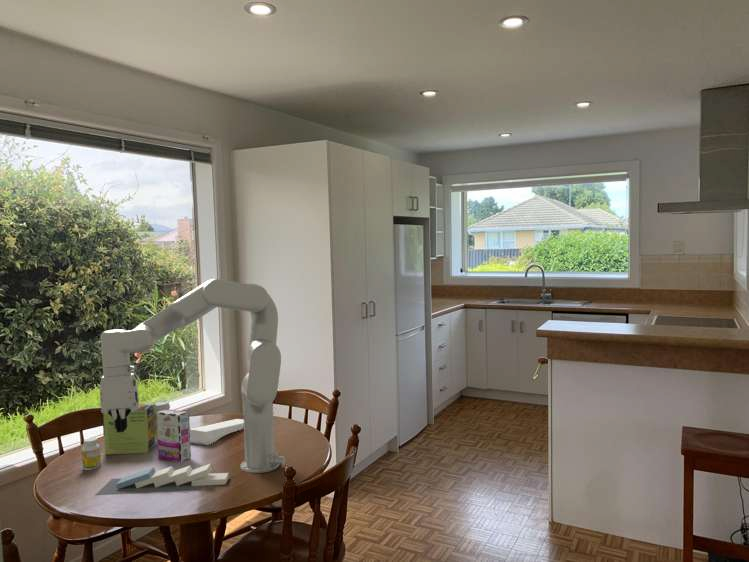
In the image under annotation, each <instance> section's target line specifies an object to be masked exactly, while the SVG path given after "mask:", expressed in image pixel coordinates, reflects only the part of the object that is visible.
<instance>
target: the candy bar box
mask: <svg viewBox="0 0 749 562" xmlns="http://www.w3.org/2000/svg"><path fill="white" fill-rule="evenodd" d="M156 416H157V458H158V460H159V459H160V460H165V461H169V462H171V461H172V462H174V461H175V462H179V463H180V462H183V461H188V460H191V459H192V453H191V452H192V451H191V443H190V429H191V428H190V427H191V426H190V412H189V411H185V410H177V409H176V410H175V409H171V408H169V409H165V410H162V411H159V412H156Z"/></svg>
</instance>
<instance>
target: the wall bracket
mask: <svg viewBox="0 0 749 562" xmlns="http://www.w3.org/2000/svg"><path fill="white" fill-rule="evenodd" d="M242 428H244V418H234V419H230V420H225V421H221V422H216V423H212V424H207V425H203V426H198V427H193V428H190V444H196V445H204V446H210V445H211V443H212V444H214V443H215V442H217V441H218V440H220V439H221V438H222V437H225V436H226V435H229V434H231V433H234V432H238V430H239V431H242V430H243V429H242ZM241 429H242V430H241ZM213 442H214V443H213ZM209 444H210V445H209Z"/></svg>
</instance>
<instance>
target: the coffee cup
mask: <svg viewBox="0 0 749 562" xmlns="http://www.w3.org/2000/svg"><path fill="white" fill-rule="evenodd" d="M150 403H155V406H156V412H159V411H162V410H165V409H171V405H170V403H169V401H167V400H158V401H152V402H150ZM156 428H157V416H156Z"/></svg>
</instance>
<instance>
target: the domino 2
mask: <svg viewBox="0 0 749 562" xmlns="http://www.w3.org/2000/svg"><path fill="white" fill-rule="evenodd" d="M192 470H193V469H192V467H191V465H187V466H185V467H182V468H179V469H175V470H174V471H173V473H172V474H171V475H170V476H169V478H166V479H163V480H160V481H157V482H154V485H155V488H156V487H158V486H161V485H164V484H167V483H170V482H173V481H176V480H179V479H182V478H185V477H188V475H189V474H190V472H191V471H192Z"/></svg>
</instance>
